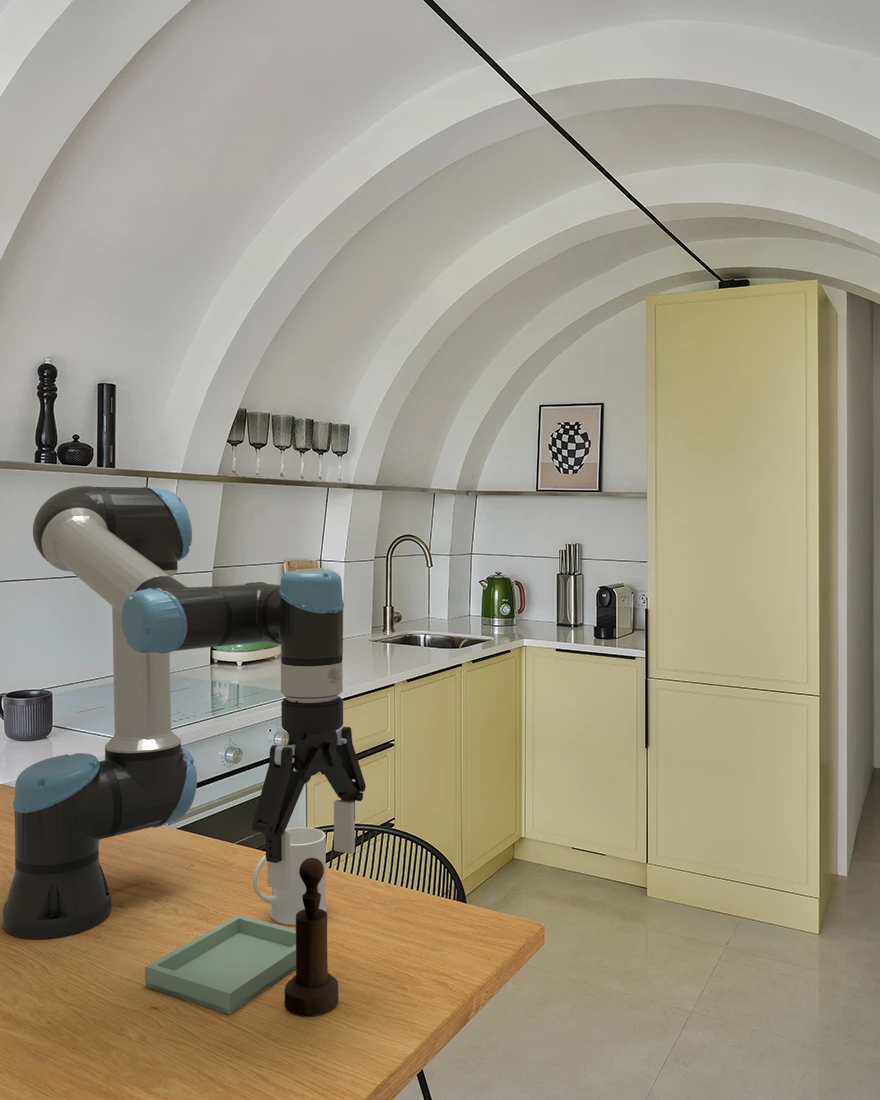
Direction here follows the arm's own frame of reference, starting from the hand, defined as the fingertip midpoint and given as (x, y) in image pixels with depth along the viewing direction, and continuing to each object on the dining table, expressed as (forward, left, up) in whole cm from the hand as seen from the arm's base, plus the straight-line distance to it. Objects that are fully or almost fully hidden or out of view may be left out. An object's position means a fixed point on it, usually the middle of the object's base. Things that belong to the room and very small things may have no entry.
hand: (313, 868), depth 115 cm
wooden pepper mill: (0, 0, -17) cm, 17 cm away
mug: (-18, +19, -17) cm, 32 cm away
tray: (-14, +2, -17) cm, 22 cm away
